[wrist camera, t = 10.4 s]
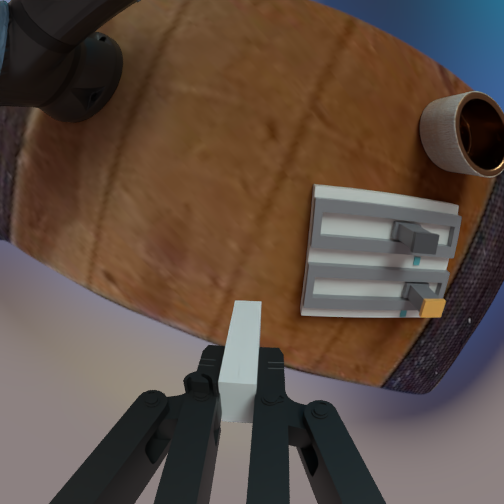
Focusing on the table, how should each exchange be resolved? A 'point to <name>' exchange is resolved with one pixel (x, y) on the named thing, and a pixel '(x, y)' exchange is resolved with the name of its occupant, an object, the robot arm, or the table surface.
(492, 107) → the planter
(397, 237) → the fader
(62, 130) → the table surface
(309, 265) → the console
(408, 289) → the fader
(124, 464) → the robot arm
